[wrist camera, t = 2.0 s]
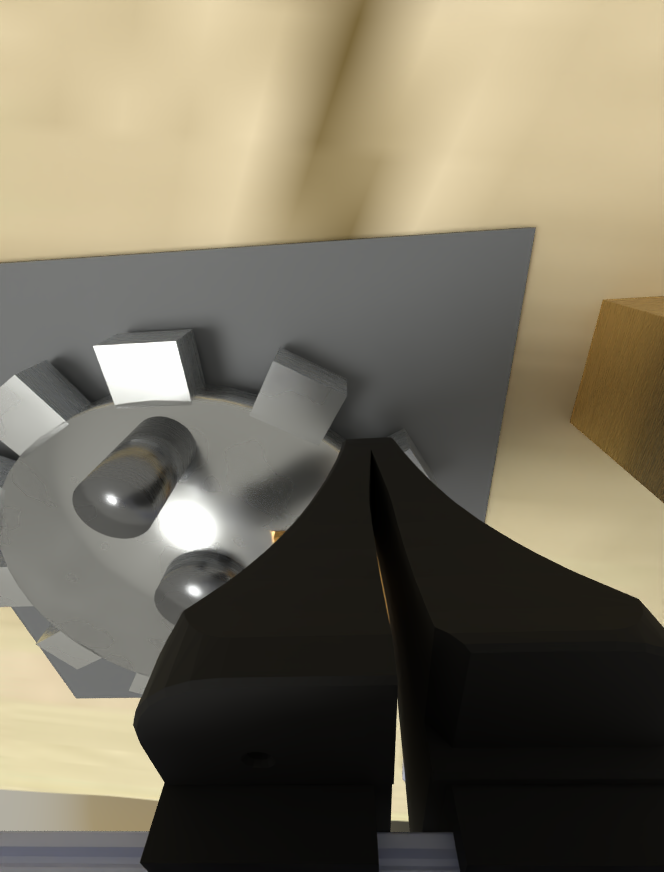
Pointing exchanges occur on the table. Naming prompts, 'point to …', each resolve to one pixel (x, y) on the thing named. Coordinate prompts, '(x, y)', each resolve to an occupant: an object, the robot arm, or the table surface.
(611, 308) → the brushed gold block
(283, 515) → the sprocket
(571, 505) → the table surface
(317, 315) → the plate
